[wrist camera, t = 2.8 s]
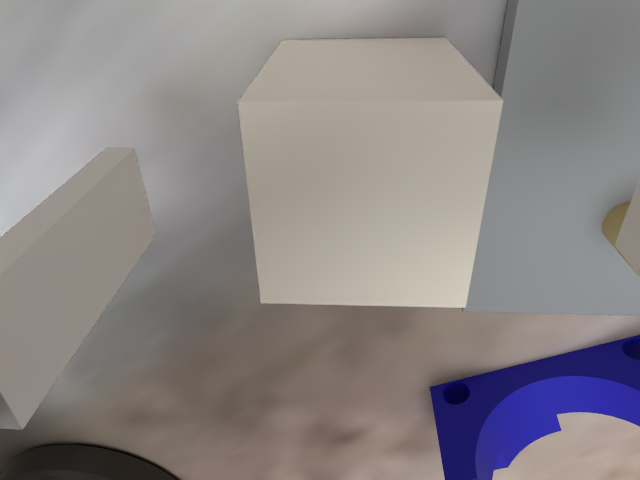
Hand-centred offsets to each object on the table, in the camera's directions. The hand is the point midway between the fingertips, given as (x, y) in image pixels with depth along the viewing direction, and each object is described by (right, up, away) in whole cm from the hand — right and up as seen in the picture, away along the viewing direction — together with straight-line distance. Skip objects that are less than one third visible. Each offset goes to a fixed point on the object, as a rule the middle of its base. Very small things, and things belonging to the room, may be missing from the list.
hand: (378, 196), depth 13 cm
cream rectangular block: (0, +4, +6) cm, 7 cm away
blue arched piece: (+11, -9, +14) cm, 20 cm away
